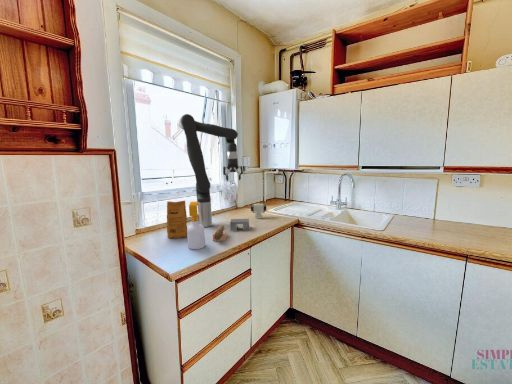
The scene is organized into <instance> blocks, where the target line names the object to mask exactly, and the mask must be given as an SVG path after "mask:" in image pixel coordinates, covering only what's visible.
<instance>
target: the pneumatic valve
mask: <svg viewBox="0 0 512 384" xmlns="http://www.w3.org/2000/svg"><path fill="white" fill-rule="evenodd" d="M266 211H267V205H266V204H265V203H260V202H258V203H253V204H252V205H250V212H252V213H253V214H255V216H254V217H255V219H260V220H261V219H262V218H263V214H264V213H265V212H266Z"/></svg>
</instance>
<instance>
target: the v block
mask: <svg viewBox="0 0 512 384" xmlns="http://www.w3.org/2000/svg"><path fill="white" fill-rule="evenodd" d="M216 232H217V229H215V230H214V231H213V233H212V241H213V242H216V241H217V242H220V241H221V242H223V241H224V242H225V241H226V239H227V230H226V229H224V230H223V233H222V235H221V238H220V239H219V240H216V239H215V238H214V236H215V234H216Z"/></svg>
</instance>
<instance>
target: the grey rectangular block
mask: <svg viewBox="0 0 512 384" xmlns="http://www.w3.org/2000/svg"><path fill="white" fill-rule="evenodd" d="M229 224H230V225H229V226H230V232H236V231H237V230H238V225H242V231H245V232H246V231H248V232H249V231H250V218H231V219H230V221H229Z"/></svg>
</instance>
